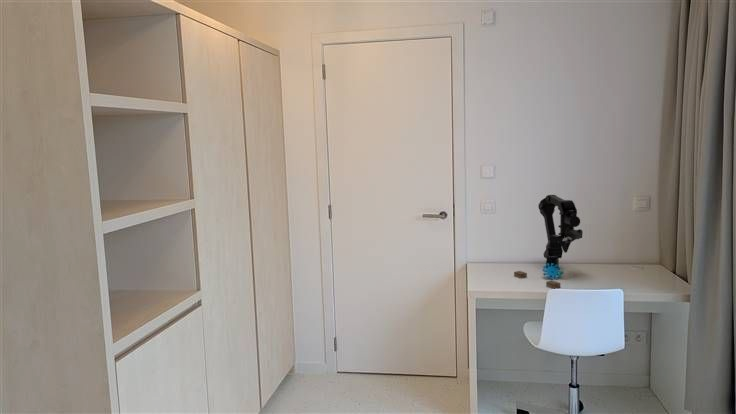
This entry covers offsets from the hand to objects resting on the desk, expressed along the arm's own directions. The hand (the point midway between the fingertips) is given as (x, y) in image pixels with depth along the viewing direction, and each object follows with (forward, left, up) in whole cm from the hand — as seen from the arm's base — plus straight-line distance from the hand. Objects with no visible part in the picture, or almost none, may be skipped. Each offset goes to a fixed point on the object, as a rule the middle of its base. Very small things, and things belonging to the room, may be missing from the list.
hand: (565, 252), depth 293 cm
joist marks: (+21, 0, -13) cm, 25 cm away
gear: (+9, 0, -13) cm, 16 cm away
